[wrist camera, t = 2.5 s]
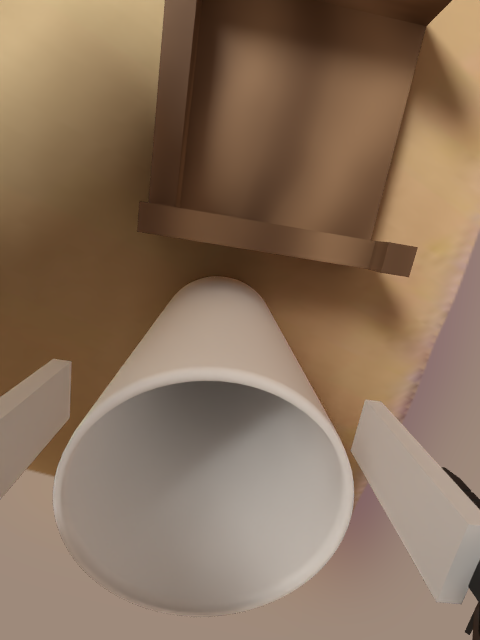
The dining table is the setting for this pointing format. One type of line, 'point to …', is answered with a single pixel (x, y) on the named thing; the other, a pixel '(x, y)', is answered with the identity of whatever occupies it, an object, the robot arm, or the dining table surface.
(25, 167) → the dining table surface
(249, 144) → the tray
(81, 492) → the cup
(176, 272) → the dining table surface
